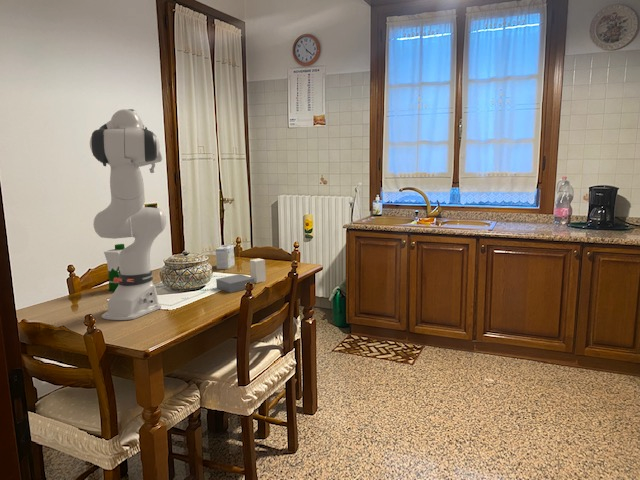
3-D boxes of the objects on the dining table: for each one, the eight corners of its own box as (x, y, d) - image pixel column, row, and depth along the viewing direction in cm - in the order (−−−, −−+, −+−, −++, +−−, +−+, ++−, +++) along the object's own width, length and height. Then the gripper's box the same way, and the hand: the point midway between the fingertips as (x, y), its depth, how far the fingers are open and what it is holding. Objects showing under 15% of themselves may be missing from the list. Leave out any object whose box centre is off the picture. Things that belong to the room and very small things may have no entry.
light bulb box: (223, 264, 269) (221, 244, 268) (235, 264, 268) (233, 244, 267) (216, 269, 259) (214, 248, 257) (228, 269, 258) (227, 248, 256)
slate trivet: (230, 292, 212) (230, 283, 212) (216, 287, 221) (216, 279, 221) (254, 287, 220) (254, 278, 219) (240, 282, 229) (239, 274, 228)
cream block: (256, 283, 227) (255, 261, 225) (250, 281, 231) (249, 260, 229) (266, 281, 230) (264, 259, 229) (260, 279, 234) (258, 258, 232)
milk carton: (135, 287, 228) (131, 244, 225) (121, 292, 220) (116, 247, 216) (120, 286, 231) (115, 243, 228) (105, 291, 223) (100, 247, 219)
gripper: (112, 153, 211) (120, 183, 218) (159, 143, 220) (166, 171, 227) (108, 149, 216) (116, 178, 223) (155, 138, 225) (161, 167, 232)
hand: (141, 175), depth 225 cm, fingers open, 8 cm apart
